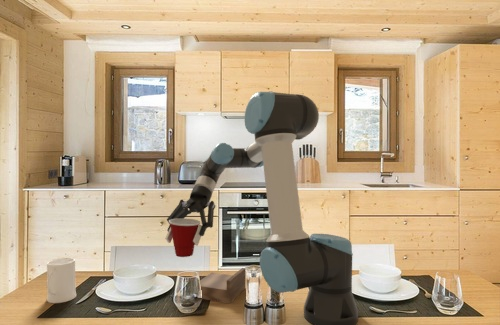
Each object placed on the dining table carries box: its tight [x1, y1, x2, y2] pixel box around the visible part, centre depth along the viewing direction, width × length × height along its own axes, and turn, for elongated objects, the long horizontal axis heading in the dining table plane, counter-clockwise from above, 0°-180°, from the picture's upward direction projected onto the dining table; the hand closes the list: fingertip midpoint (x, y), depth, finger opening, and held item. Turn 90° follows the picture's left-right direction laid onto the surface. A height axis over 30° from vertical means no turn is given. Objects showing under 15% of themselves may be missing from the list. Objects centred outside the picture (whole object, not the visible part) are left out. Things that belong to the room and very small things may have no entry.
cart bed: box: [199, 267, 246, 304], centre depth 121 cm, size 13×13×7 cm
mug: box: [46, 257, 77, 304], centre depth 116 cm, size 12×8×12 cm
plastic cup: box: [168, 218, 201, 258], centre depth 125 cm, size 11×11×12 cm
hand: (181, 242), depth 122 cm, fingers closed on plastic cup, 10 cm apart
